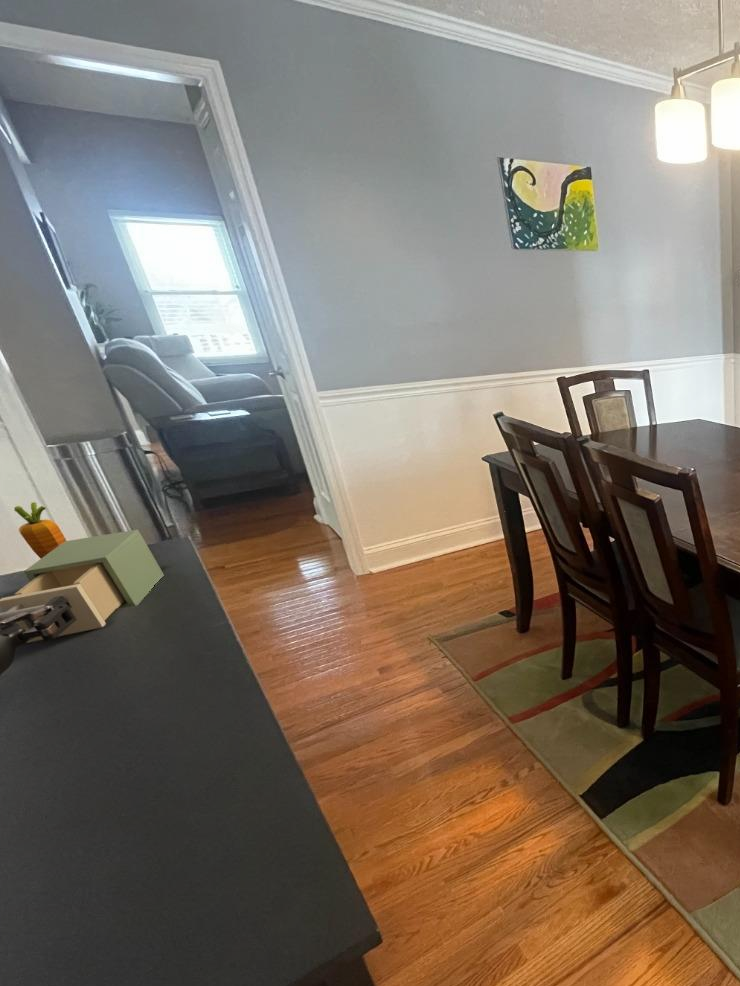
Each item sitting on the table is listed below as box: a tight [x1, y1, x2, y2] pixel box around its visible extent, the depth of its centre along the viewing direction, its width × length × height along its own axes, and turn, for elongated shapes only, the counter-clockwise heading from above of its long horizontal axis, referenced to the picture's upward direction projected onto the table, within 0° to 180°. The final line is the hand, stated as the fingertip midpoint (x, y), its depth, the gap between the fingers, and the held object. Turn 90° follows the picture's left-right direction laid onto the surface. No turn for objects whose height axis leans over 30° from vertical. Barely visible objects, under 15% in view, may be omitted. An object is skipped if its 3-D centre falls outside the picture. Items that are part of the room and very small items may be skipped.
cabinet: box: [23, 529, 165, 609], centre depth 103 cm, size 13×10×10 cm
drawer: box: [0, 562, 125, 643], centre depth 93 cm, size 16×9×8 cm, turn 25°
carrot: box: [13, 501, 67, 559], centre depth 109 cm, size 5×5×15 cm
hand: (24, 609), depth 85 cm, fingers open, 8 cm apart
